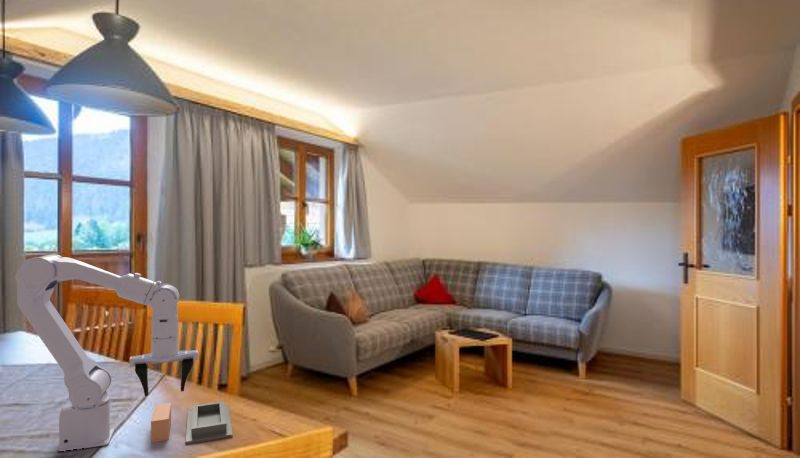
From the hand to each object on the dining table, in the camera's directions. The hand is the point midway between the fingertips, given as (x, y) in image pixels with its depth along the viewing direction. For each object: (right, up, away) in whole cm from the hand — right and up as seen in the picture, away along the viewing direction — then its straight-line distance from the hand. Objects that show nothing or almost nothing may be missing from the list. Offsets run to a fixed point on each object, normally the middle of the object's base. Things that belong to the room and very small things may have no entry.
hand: (164, 392), depth 113 cm
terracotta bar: (-1, -10, 0) cm, 10 cm away
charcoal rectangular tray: (+9, -9, +4) cm, 14 cm away
